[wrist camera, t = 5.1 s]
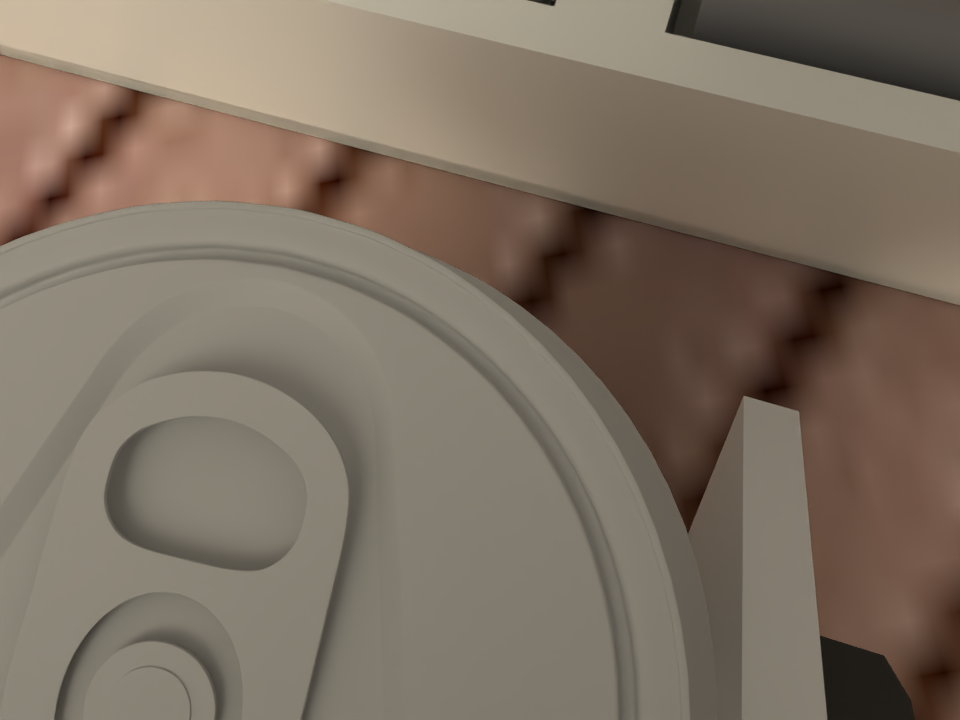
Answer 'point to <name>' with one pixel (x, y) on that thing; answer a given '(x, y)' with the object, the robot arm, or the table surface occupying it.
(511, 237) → the table surface
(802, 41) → the key olive
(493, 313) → the beverage can
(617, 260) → the table surface
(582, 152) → the light grey piece
